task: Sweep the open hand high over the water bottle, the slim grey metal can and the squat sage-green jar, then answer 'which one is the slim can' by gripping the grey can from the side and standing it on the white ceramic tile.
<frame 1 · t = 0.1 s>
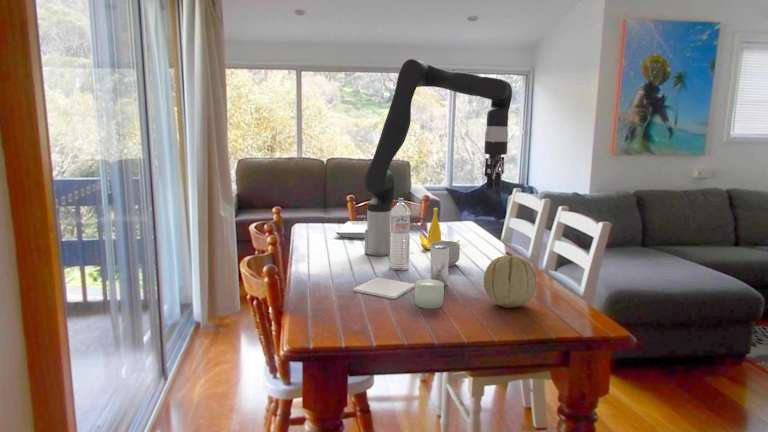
hand: (493, 187, 175), 29 cm above the table, tool pointing down, fingers open, 8 cm apart
tile: (385, 288, 157), on the table
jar: (428, 303, 145), on the table
square plate: (370, 235, 239), on the table
teacup: (444, 264, 188), on the table
water bottle: (399, 269, 181), on the table
can: (438, 283, 164), on the table
banana peel: (439, 247, 215), on the table
cantaloupe: (508, 306, 144), on the table
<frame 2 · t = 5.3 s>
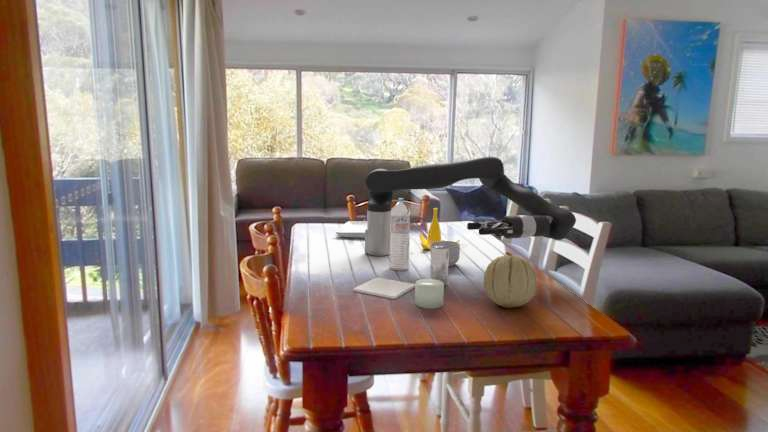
hand: (473, 228, 164), 18 cm above the table, tool horizontal, fingers open, 8 cm apart
nothing on the table moved.
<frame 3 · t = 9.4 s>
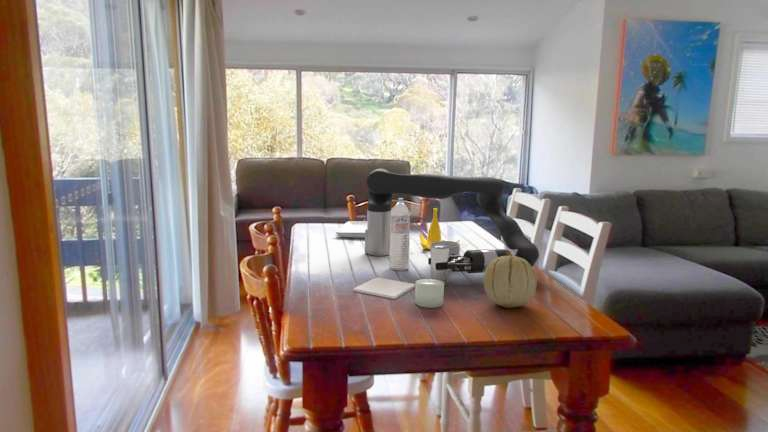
hand: (432, 263, 162), 7 cm above the table, tool horizontal, fingers closed on can, 5 cm apart
can: (438, 283, 164), on the table, touching gripper
everything else where it was.
when the fingers open (8 cm above the table, at t = 14.6 s): can stays where it is, resting on tile.
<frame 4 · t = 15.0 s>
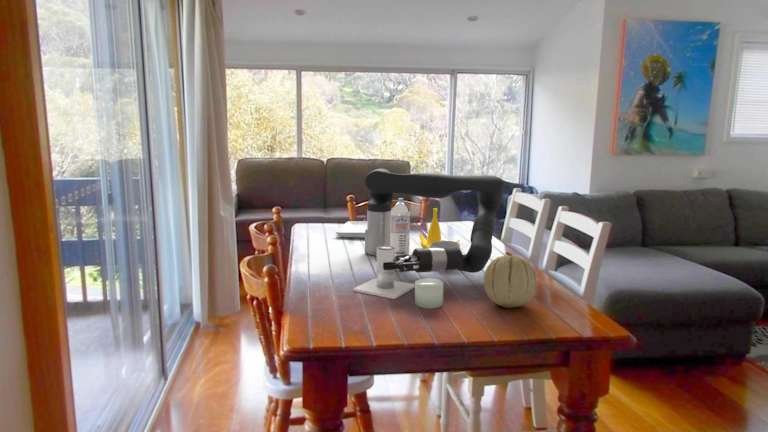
hand: (379, 262, 155), 8 cm above the table, tool horizontal, fingers open, 8 cm apart
can: (385, 286, 157), point 1 cm above the table, touching tile
everything else where it was.
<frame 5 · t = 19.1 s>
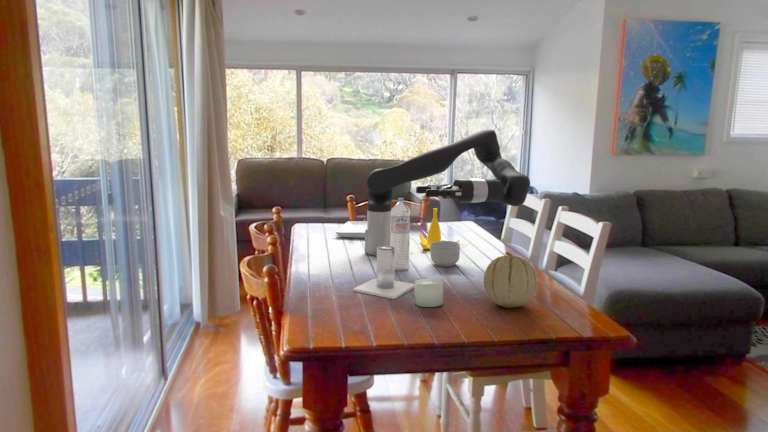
hand: (421, 191, 155), 30 cm above the table, tool horizontal, fingers open, 8 cm apart
nothing on the table moved.
at the end: can inside the target area on the tile (0.1 cm from its centre), point 0.8 cm above the tile's base; can tilted 0°; the gripper is holding nothing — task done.
